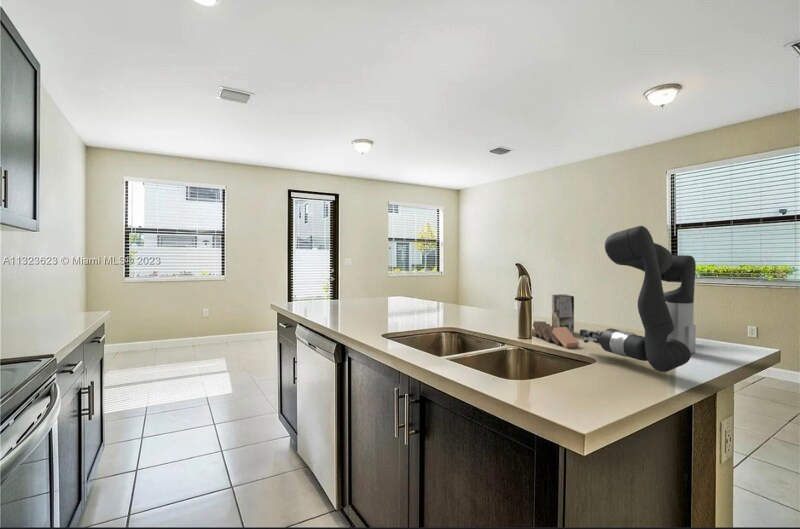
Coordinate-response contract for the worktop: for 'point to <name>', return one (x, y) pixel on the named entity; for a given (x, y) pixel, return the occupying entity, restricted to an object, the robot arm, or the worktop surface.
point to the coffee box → (563, 311)
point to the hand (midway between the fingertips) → (581, 332)
